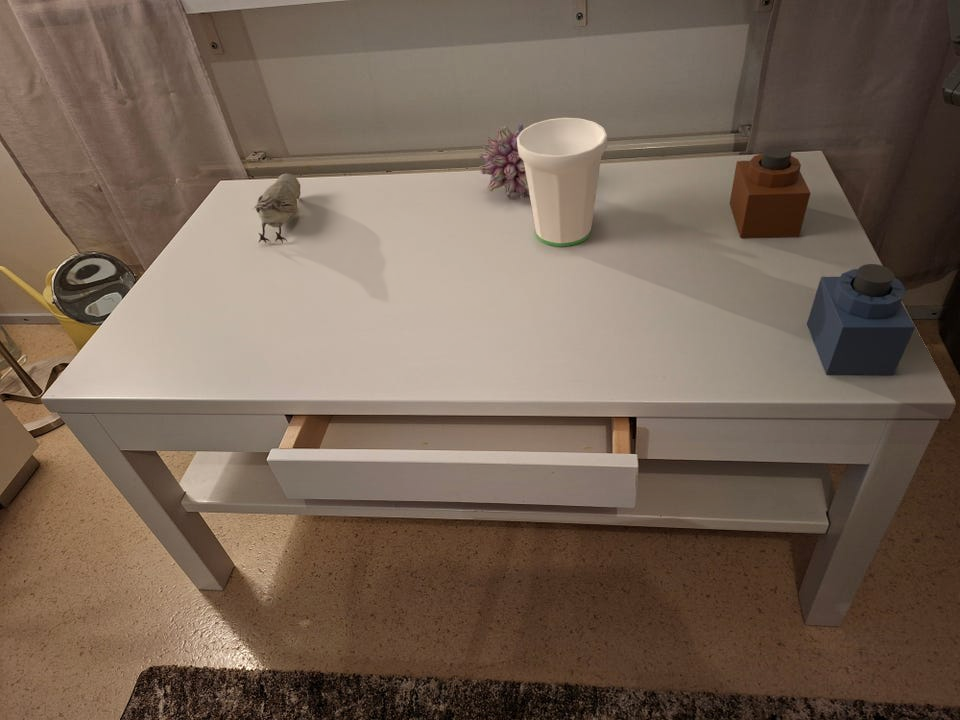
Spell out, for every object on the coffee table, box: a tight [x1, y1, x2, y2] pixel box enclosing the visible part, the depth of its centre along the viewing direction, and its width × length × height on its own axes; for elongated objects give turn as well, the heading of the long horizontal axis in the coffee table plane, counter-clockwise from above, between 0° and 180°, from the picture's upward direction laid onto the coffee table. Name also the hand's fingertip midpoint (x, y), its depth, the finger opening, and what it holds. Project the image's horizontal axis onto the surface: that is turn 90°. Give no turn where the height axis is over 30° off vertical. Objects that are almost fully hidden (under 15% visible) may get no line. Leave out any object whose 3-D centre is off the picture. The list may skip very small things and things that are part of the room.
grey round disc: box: [761, 145, 792, 170], centre depth 91 cm, size 4×4×2 cm
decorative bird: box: [252, 173, 301, 244], centre depth 109 cm, size 5×16×7 cm, turn 177°
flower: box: [477, 122, 530, 199], centre depth 107 cm, size 12×12×12 cm
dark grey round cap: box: [853, 263, 895, 297], centre depth 70 cm, size 3×3×2 cm
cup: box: [517, 117, 608, 247], centre depth 95 cm, size 12×12×15 cm
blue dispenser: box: [806, 268, 916, 376], centre depth 73 cm, size 9×7×9 cm
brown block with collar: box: [729, 152, 811, 239], centre depth 94 cm, size 10×8×9 cm
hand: (952, 101), depth 58 cm, fingers closed
